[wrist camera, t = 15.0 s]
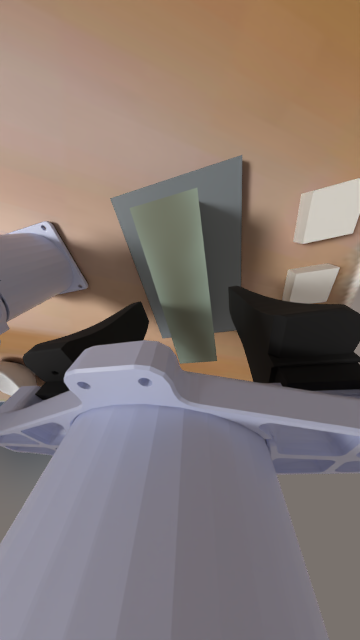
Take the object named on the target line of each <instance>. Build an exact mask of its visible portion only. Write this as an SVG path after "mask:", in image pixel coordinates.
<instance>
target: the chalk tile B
mask: <svg viewBox="0 0 360 640" xmlns="http://www.w3.org/2000/svg"><path fill="white" fill-rule="evenodd" d="M359 215H360V178H357V179H354V180H350V181H346V182H343V183H339V184H335V185H332V186H328V187H325V188H321V189H317V190H314V191H310V192H307V193H303V194H301V200H300V205H299V211H298V217H297V223H296V229H295V235H294V241H293V242H296V243H301V244H305V243H310V242H314V241H319V240H324V239H328V238H333V237H338V236H343V235H347V234H352V233H353V231H354V228H355V226H356V223H357V220H358V217H359Z"/></svg>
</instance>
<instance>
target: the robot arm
mask: <svg viewBox="0 0 360 640" xmlns="http://www.w3.org/2000/svg"><path fill="white" fill-rule="evenodd" d="M44 226H45V227H46V229H45V228H44ZM80 285H81V286H82V287H81V286H80ZM86 288H88V284H87V282H86V280H85V279H84V277H83V275H82V274H81V272H80V270H79V268H78V267H77V265H76V263H75V262H74V260H73V258H72V257H71V255H70V253H69V251H68V250H67V248H66V246H65V245H64V243H63V241H62V240H61V238H60V236H59V234H58V233H57V231H56V229H55V228H54V226H53V225H52V223H50V222H49V221H44V222H41V223H38V224H35V225H32V226H29V227H26V228H23V229H20V230H17V231H14V232H11V233H7V234H4V235H0V335H1V334H2V333H4V332H6V331H7V330H9V329H10V328H9V327H8V325H7V323H6V322H8V321H9V320H11V319H13V318H15V317H17V316H19V315H20V314H22V313H24V312H26V311H28V310H30V309H32V308H33V307H35V306H37V305H39V304H41V303H43V302H44V301H46V300H48V299H50V298H52V297H54V296H55V295H58V294H63V293H68V292H73V291H78V290H83V289H86ZM228 293H229V311H230V315H231V319H232V321H233V324H234V326H235V328H236V330H237V333H238V335H239V337H240V339H241V342H242V344H243V347H244V350H245V354H246V357H247V360H248V364H249V367H250V371H251V374H252V378H253V382H251V381H245V380H238V379H232V378H225V377H219V376H213V375H206V374H200V373H193V372H187V371H183V370H182V369H181V367H180V366H179V363H178V360H177V357H176V355H175V354H174V352H173V351H172V350H171V348H170V347H168V346H166V345H164V344H162V343H160V342H157V341H146V340H143V339H144V337H145V334H146V332H147V328H148V324H149V320H148V317H147V315H146V313H145V310H144V308H143V305H142V303H141V302H136V303H133V304H131V305H129V306H127V307H125V308H124V309H122V310H120V311H119V312H117V313H116V314H114V315H112V316H111V317H109V318H107V319H105V320H104V321H102V322H100V323H98V324H96V325H94V326H91V327H89V328H87V329H84V330H82V331H79V332H77V333H74V334H71V335H68V336H65V337H62V338H58V339H55V340H51V341H47V342H43V343H40V344H37V345H35V346H34V347H33V348H32V349H30V350H29V351H28V352H27V353H26V354H24V356H23V361H24V363H25V365H26V366H27V367H28V368H29V369H30V370H31V371H32V372H33V373H34V374H36V375H37V376H38V377H39V378H41V379H42V380H43V381H44V382H45V384H44V385H43V386H42V387H40V386H22V387H20V388H19V389H18V390H17V391H16V392H15V393H14V394H13V395H12V396H11V397H10V398H9V399H8V400H7V401H6V402H5V403H4V404H3V405H2V406H1V407H0V446H2V447H4V448H7V449H10V450H12V451H15V452H26V453H36V454H46V455H52V456H53V457H52V459H51V460H50V462H49V464H48V465H47V467H46V468H45V470H44V472H43V474H42V475H41V477H40V479H39V480H38V482H37V484H36V485H35V487H34V488H33V490H32V492H31V494H30V495H29V497H28V498H27V500H26V502H25V504H24V505H23V507H22V509H21V510H20V512H19V513H18V515H17V517H16V519H15V520H14V522H13V524H12V525H11V527H10V529H9V530H8V532H7V534H6V535H5V537H4V539H3V540H2V542H1V544H0V640H329V637H328V634H327V631H326V628H325V625H324V622H323V619H322V615H321V612H320V609H319V606H318V603H317V600H316V596H315V594H314V590H313V587H312V584H311V581H310V578H309V575H308V571H307V568H306V565H305V562H304V559H303V556H302V553H301V550H300V546H299V543H298V540H297V537H296V534H295V531H294V528H293V524H292V521H291V518H290V515H289V512H288V509H287V506H286V503H285V500H284V497H283V493H282V490H281V487H280V484H279V481H278V477H277V474H334V473H335V474H339V473H360V364H359V363H358V362H360V357H359V356H358V355H357V354H355V353H354V350H355V348H356V347H357V345H358V344H359V342H360V314H359V313H358V312H356V311H354V310H353V309H351V308H349V307H348V306H346V305H341V304H307V303H296V302H289V301H282V300H277V299H273V298H269V297H265V296H262V295H259V294H256V293H254V292H251V291H249V290H247V289H244V288H242V287H240V286H231V287H228ZM0 343H1V341H0Z"/></svg>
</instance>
